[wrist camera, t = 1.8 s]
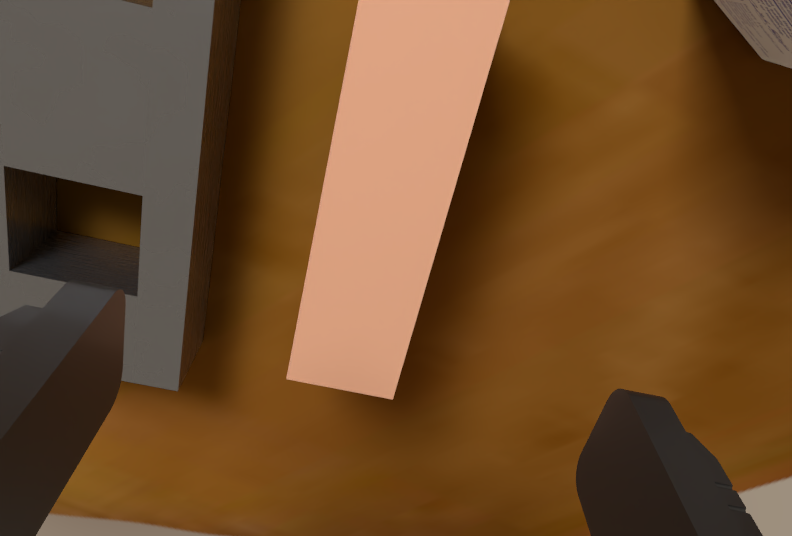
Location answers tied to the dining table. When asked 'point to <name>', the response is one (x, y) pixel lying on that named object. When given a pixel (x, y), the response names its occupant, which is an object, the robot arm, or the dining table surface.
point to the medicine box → (763, 26)
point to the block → (390, 184)
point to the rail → (117, 158)
